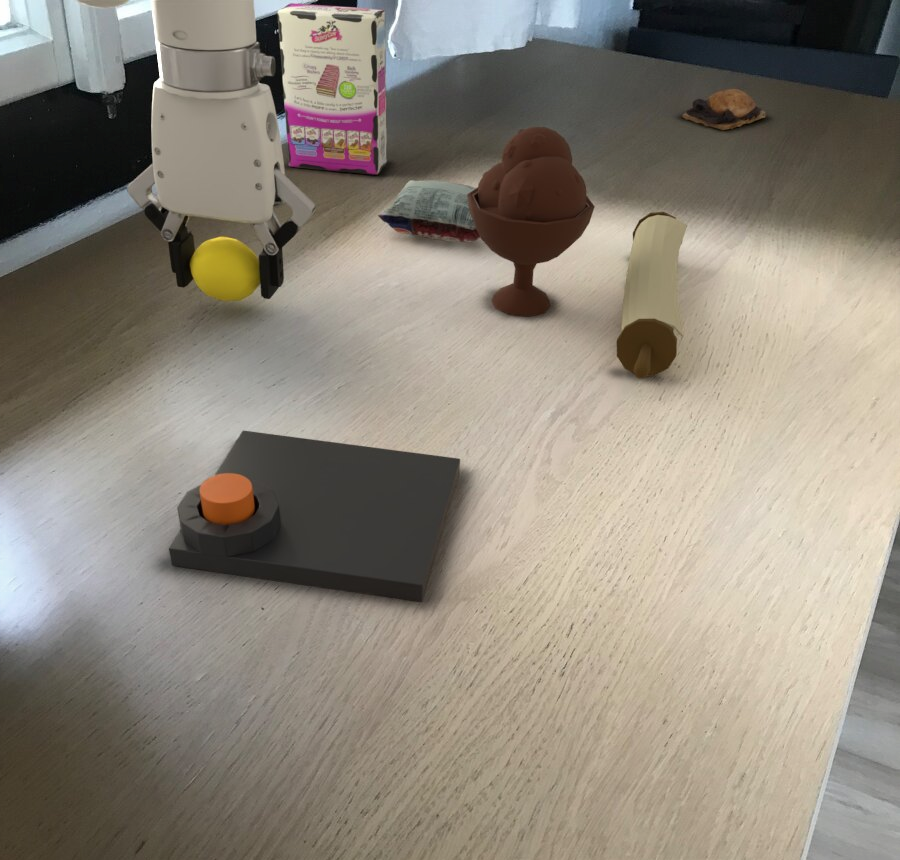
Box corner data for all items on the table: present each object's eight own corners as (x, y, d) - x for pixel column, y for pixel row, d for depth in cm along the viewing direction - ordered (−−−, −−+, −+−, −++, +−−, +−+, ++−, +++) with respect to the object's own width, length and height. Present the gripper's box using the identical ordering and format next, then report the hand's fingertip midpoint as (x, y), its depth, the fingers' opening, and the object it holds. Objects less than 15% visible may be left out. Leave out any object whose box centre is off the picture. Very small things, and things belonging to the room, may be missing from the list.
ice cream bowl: (442, 290, 93) (448, 120, 83) (542, 271, 97) (559, 108, 87) (496, 338, 86) (510, 159, 76) (602, 316, 90) (628, 144, 80)
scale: (170, 566, 61) (163, 528, 59) (243, 446, 72) (239, 410, 70) (421, 602, 60) (422, 565, 58) (459, 474, 70) (461, 438, 68)
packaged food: (406, 209, 108) (406, 163, 104) (509, 227, 105) (513, 180, 102) (376, 239, 102) (375, 190, 98) (485, 258, 99) (488, 209, 96)
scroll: (631, 243, 103) (639, 195, 100) (684, 250, 102) (694, 201, 99) (603, 393, 80) (612, 336, 76) (672, 403, 79) (684, 346, 76)
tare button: (195, 522, 61) (191, 499, 59) (213, 492, 63) (210, 469, 62) (245, 529, 60) (242, 506, 59) (261, 499, 63) (259, 476, 61)
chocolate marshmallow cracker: (721, 105, 144) (727, 77, 141) (770, 119, 139) (776, 91, 137) (676, 116, 138) (681, 88, 136) (724, 132, 134) (731, 102, 131)
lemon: (181, 305, 87) (173, 245, 83) (204, 281, 91) (198, 222, 87) (256, 316, 86) (252, 256, 82) (277, 292, 90) (273, 233, 86)
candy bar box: (388, 163, 119) (387, 8, 108) (378, 176, 115) (377, 17, 104) (299, 154, 120) (289, 0, 109) (286, 167, 117) (275, 9, 106)
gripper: (330, 67, 78) (334, 282, 90) (122, 43, 79) (152, 258, 91) (304, 91, 72) (312, 318, 84) (80, 65, 74) (118, 291, 85)
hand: (228, 285), depth 87 cm, fingers closed on lemon, 7 cm apart
